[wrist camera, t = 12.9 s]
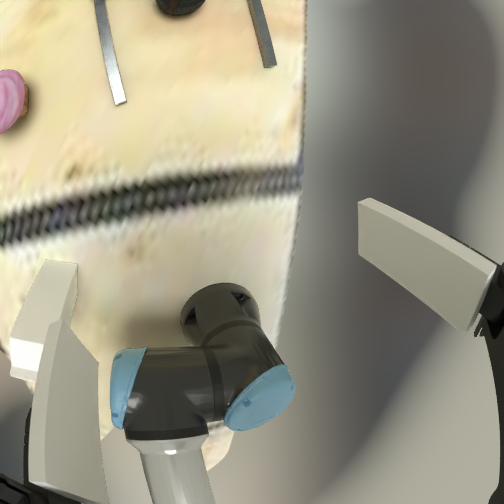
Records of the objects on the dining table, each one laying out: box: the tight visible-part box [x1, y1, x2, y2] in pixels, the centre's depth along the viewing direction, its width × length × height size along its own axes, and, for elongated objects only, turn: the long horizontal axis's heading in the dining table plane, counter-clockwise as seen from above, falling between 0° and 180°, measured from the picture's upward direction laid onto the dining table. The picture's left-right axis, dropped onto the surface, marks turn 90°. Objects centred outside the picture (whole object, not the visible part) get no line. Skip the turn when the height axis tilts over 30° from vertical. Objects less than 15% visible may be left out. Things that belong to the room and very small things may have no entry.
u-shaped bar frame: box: [94, 0, 277, 105], centre depth 25 cm, size 21×24×4 cm
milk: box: [9, 259, 78, 382], centre depth 28 cm, size 6×6×22 cm
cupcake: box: [0, 69, 28, 134], centre depth 18 cm, size 9×9×10 cm
